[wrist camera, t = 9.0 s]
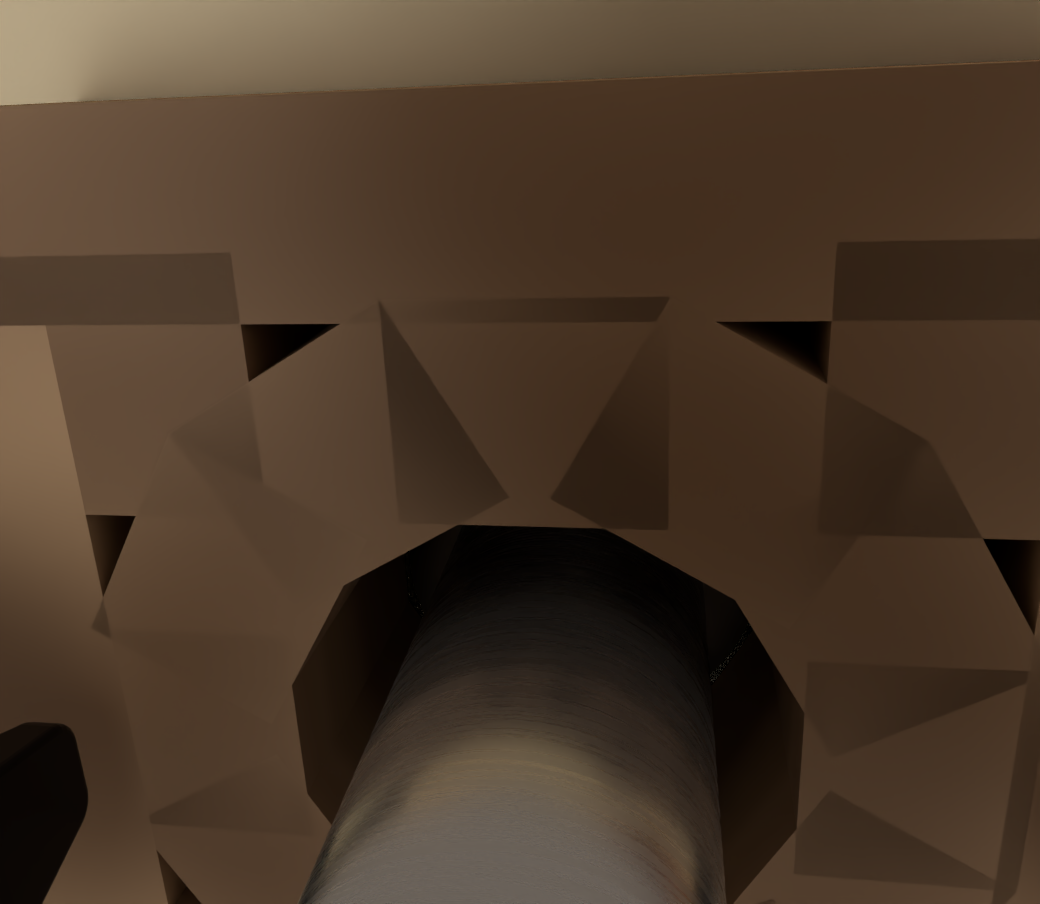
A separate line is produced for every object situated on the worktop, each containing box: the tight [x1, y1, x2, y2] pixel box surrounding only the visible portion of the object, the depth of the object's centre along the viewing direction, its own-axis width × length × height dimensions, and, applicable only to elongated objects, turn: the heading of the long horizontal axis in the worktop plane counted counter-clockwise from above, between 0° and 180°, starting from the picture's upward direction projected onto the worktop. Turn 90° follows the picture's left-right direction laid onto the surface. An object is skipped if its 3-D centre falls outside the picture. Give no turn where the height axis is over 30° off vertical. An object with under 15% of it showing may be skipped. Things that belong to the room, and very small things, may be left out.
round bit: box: [298, 525, 726, 904], centre depth 9 cm, size 3×3×9 cm
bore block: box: [0, 60, 1040, 904], centre depth 11 cm, size 12×12×4 cm
